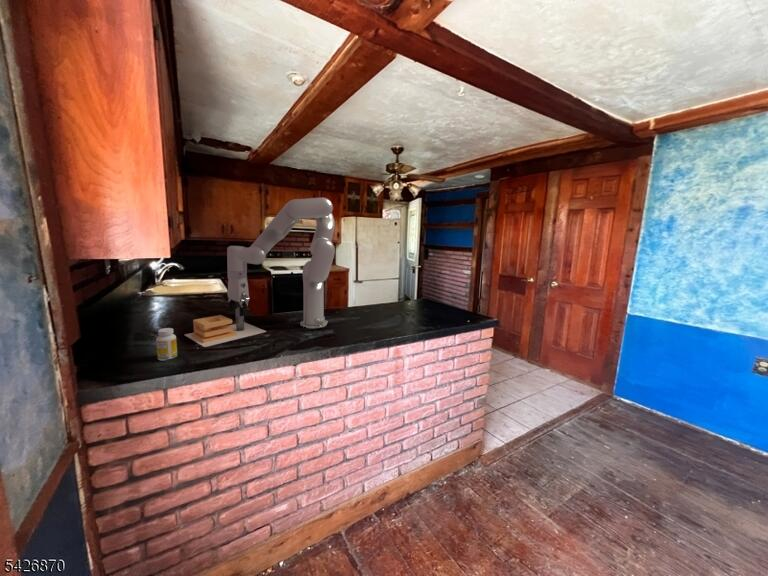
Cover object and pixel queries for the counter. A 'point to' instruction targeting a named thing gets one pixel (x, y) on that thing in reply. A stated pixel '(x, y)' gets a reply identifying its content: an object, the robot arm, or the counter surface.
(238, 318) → the pin
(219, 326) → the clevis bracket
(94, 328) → the counter surface
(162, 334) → the supplement bottle
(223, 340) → the mat
